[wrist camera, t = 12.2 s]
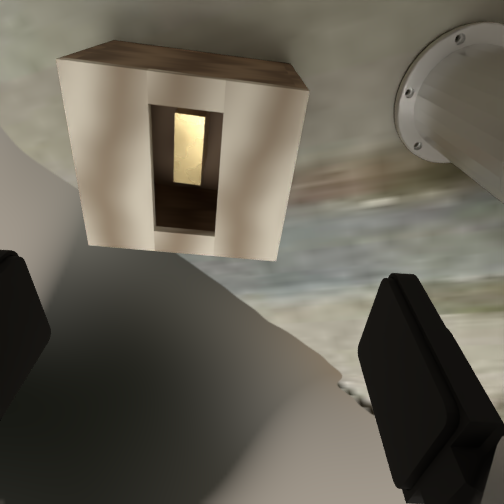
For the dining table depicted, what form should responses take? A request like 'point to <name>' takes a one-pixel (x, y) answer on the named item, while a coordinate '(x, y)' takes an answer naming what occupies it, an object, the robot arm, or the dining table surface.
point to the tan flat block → (190, 145)
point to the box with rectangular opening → (162, 147)
